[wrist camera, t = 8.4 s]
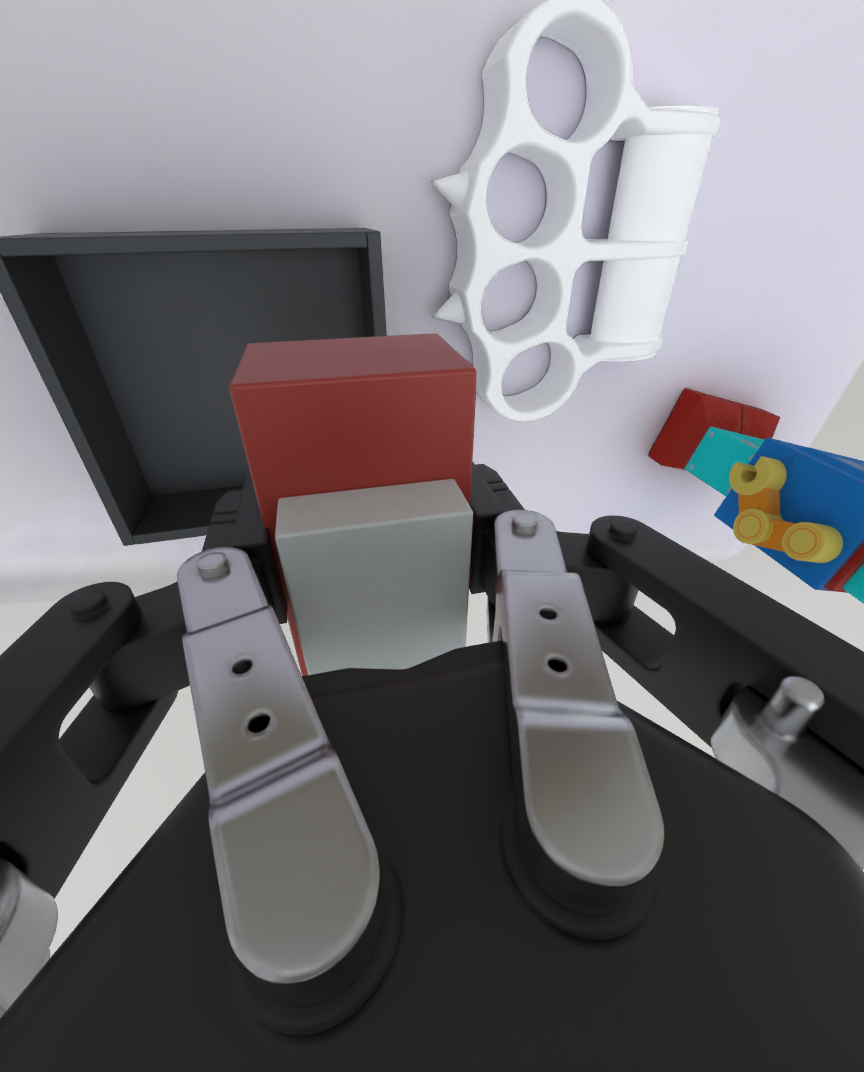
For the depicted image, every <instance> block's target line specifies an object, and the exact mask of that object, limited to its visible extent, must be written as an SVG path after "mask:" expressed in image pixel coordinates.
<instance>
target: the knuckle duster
mask: <svg viewBox="0 0 864 1072" xmlns="http://www.w3.org/2000/svg"><path fill="white" fill-rule="evenodd" d="M539 37H548V38H551V39H553V40H555V41H557V42H559V43H560V44H562V45H564V46H566V47H567V48H569V49H570V50H572V51H573V52H574V53H575V54H576V56H577V57H578V59H579V60H580V62H581V64H582V66H583V69H584V73H585V77H586V84H587V97H586V104H585V109H584V113H583V116H582V118H581V121H580V123H579V125H578V127H577V129H576V130H575V132H574V133H573V134H572V135H571V137H570V138H569V139H568V140H564V139H562V138H560V137H558V136H556V135H554V134H552V133H550V132H548V131H546V130H545V129H543V128H542V127H541V126H540V125H539V124H538V122H537V121H536V119H535V118H534V116H533V114H532V112H531V109H530V106H529V103H528V98H527V91H526V75H527V67H528V62H529V58H530V55H531V52H532V49H533V47H534V45H535V43H536V41H537V39H538V38H539ZM482 81H483V87H484V115H483V122H482V127H481V131H480V134H479V137H478V140H477V143H476V145H475V147H474V149H473V151H472V153H471V155H470V156H469V158H468V159H467V160H466V162H465V163H464V164H463V165H462V166H461V168H460V170H459V174H455V175H452V176H448V177H444V178H441V179H437V180H434V181H431V182H432V183H433V184H434V185H435V186H436V187H437V189H438V190H439V191H440V192H441V193H442V194H443V195H444V196H445V198H446V199H447V200H448V201H449V202H450V203H451V204H452V205H451V210H450V217H451V220H452V222H453V225H454V228H455V232H456V237H457V261H456V266H455V270H454V273H453V276H452V278H451V281H450V283H449V290H450V294H451V297H450V298H449V299H448V300H447V301H446V303H445V304H444V305H443V306H442V307H441V308H440V309H439V310H438V311H437V312H436V313H435V314H434V315H433V316H432V317H433V318H439V319H444V320H449V321H454V322H458V323H459V324H460V325H461V326H462V327H463V329H464V330H465V332H466V333H467V335H468V337H469V339H470V342H471V345H472V350H473V367H474V368H476V371H477V379H476V392H477V393H478V394H479V395H480V396H481V397H482V398H483V399H484V400H485V401H486V402H487V403H488V404H489V405H490V406H491V407H492V408H493V409H494V410H495V411H496V412H497V413H498V414H500V415H501V416H503V417H505V418H507V419H510V420H513V421H520V422H527V421H534V420H537V419H541V418H543V417H545V416H547V415H549V414H551V413H553V412H554V411H556V410H557V409H558V408H559V407H561V406H562V405H563V404H564V403H565V402H566V401H567V399H568V398H569V397H570V396H571V394H572V393H573V391H574V390H575V388H576V386H577V384H578V382H579V380H580V377H581V375H582V374H583V373H584V372H586V371H587V370H588V369H589V368H591V367H592V366H593V365H595V364H596V363H597V362H599V361H638V360H644V359H649V358H652V357H654V356H655V354H656V352H657V351H659V350H660V348H661V344H662V339H661V338H660V335H661V331H662V328H663V324H664V320H665V316H666V312H667V309H668V305H669V301H670V297H671V293H672V290H673V286H674V282H675V278H676V274H677V271H678V267H679V263H680V259H681V256H683V255H684V254H685V253H686V250H687V246H688V241H687V240H686V236H687V232H688V229H689V225H690V221H691V217H692V213H693V210H694V206H695V202H696V198H697V194H698V190H699V187H700V183H701V179H702V175H703V171H704V168H705V164H706V160H707V156H708V152H709V148H710V145H711V141H712V137H714V136H715V135H716V134H717V132H718V129H719V125H720V121H721V117H720V116H718V114H719V109H716V108H711V107H702V106H658V107H647V105H646V104H645V103H644V101H643V100H642V98H641V97H640V95H639V94H638V92H637V91H636V90H635V88H634V85H633V66H632V57H631V51H630V46H629V42H628V39H627V36H626V33H625V30H624V28H623V26H622V24H621V22H620V20H619V18H618V17H617V15H616V14H615V12H614V11H613V10H612V9H611V8H610V7H609V6H608V5H607V4H606V3H605V2H604V1H603V0H544V1H542V2H541V3H539V4H538V5H537V6H535V7H534V8H533V9H532V10H531V11H530V12H529V13H527V14H526V15H525V16H524V17H523V18H522V19H521V20H519V21H518V22H517V23H516V24H515V25H514V26H512V27H511V28H510V29H509V30H508V31H507V32H506V33H505V34H504V35H503V36H502V37H501V39H500V40H499V41H498V43H497V44H496V45H495V47H494V48H493V50H492V52H491V54H490V55H489V57H488V60H487V62H486V64H485V66H484V69H483V72H482ZM609 139H610V140H611V141H625V145H624V150H623V156H622V161H621V167H620V173H619V178H618V184H617V189H616V195H615V201H614V206H613V212H612V217H611V223H610V229H609V234H608V239H585V238H584V237H583V235H582V231H581V223H582V217H583V210H584V203H585V197H586V190H587V183H588V177H589V170H590V164H591V160H592V158H593V156H594V154H595V153H596V152H597V151H598V150H599V149H600V148H601V147H602V146H603V145H605V144H606V143H607V141H608V140H609ZM508 152H510V153H513V154H516V155H518V156H520V157H522V158H524V159H527V160H529V161H531V162H532V163H533V164H535V165H536V166H537V168H538V169H539V170H540V172H541V173H542V175H543V178H544V181H545V184H546V190H547V203H546V209H545V213H544V216H543V218H542V221H541V223H540V224H539V226H538V228H537V229H536V230H535V232H534V233H533V234H532V235H531V236H530V237H528V238H527V239H526V240H524V241H522V242H519V243H515V242H512V241H509V240H507V239H505V238H503V237H502V236H501V235H500V234H499V233H498V232H497V231H496V230H495V229H494V227H493V225H492V223H491V221H490V219H489V215H488V211H487V204H486V194H487V187H488V183H489V179H490V176H491V174H492V172H493V170H494V168H495V166H496V164H497V163H498V162H499V160H500V159H501V158H502V157H503V156H504V155H505V154H506V153H508ZM524 260H526V261H527V262H528V263H529V264H530V265H531V266H532V268H533V270H534V272H535V275H536V280H537V293H536V297H535V301H534V303H533V305H532V307H531V309H530V311H529V312H528V313H527V315H526V316H525V317H524V318H523V319H522V320H520V321H519V322H517V323H515V324H513V325H511V326H508V327H506V328H503V329H500V330H497V331H487V329H486V328H485V326H484V324H483V321H482V317H481V301H482V297H483V293H484V291H485V288H486V286H487V285H488V283H489V282H490V280H491V279H492V278H493V277H494V276H495V275H496V274H497V273H498V272H499V271H501V270H502V269H504V268H506V267H509V266H511V265H514V264H516V263H519V262H521V261H524ZM587 261H604V262H603V268H602V273H601V279H600V285H599V290H598V296H597V301H596V307H595V313H594V318H593V324H592V330H591V334H588V335H578V336H576V337H575V338H574V339H572V338H571V337H570V336H569V335H568V334H567V331H566V324H567V317H568V310H569V304H570V297H571V290H572V284H573V278H574V275H575V272H576V270H577V269H578V268H579V266H580V265H582V264H583V263H584V262H587ZM542 343H548V345H549V347H550V352H551V361H550V365H549V368H548V371H547V373H546V375H545V376H544V378H543V379H542V380H541V381H540V382H539V383H538V384H537V385H536V386H534V387H533V388H531V389H529V390H526V391H524V392H521V393H519V394H516V395H512V396H504V395H503V393H502V378H503V374H504V372H505V370H506V368H507V366H508V364H509V363H510V362H511V360H512V359H513V358H514V357H515V356H516V355H518V354H519V353H521V352H522V351H524V350H526V349H529V348H531V347H534V346H536V345H539V344H542Z"/></svg>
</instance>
